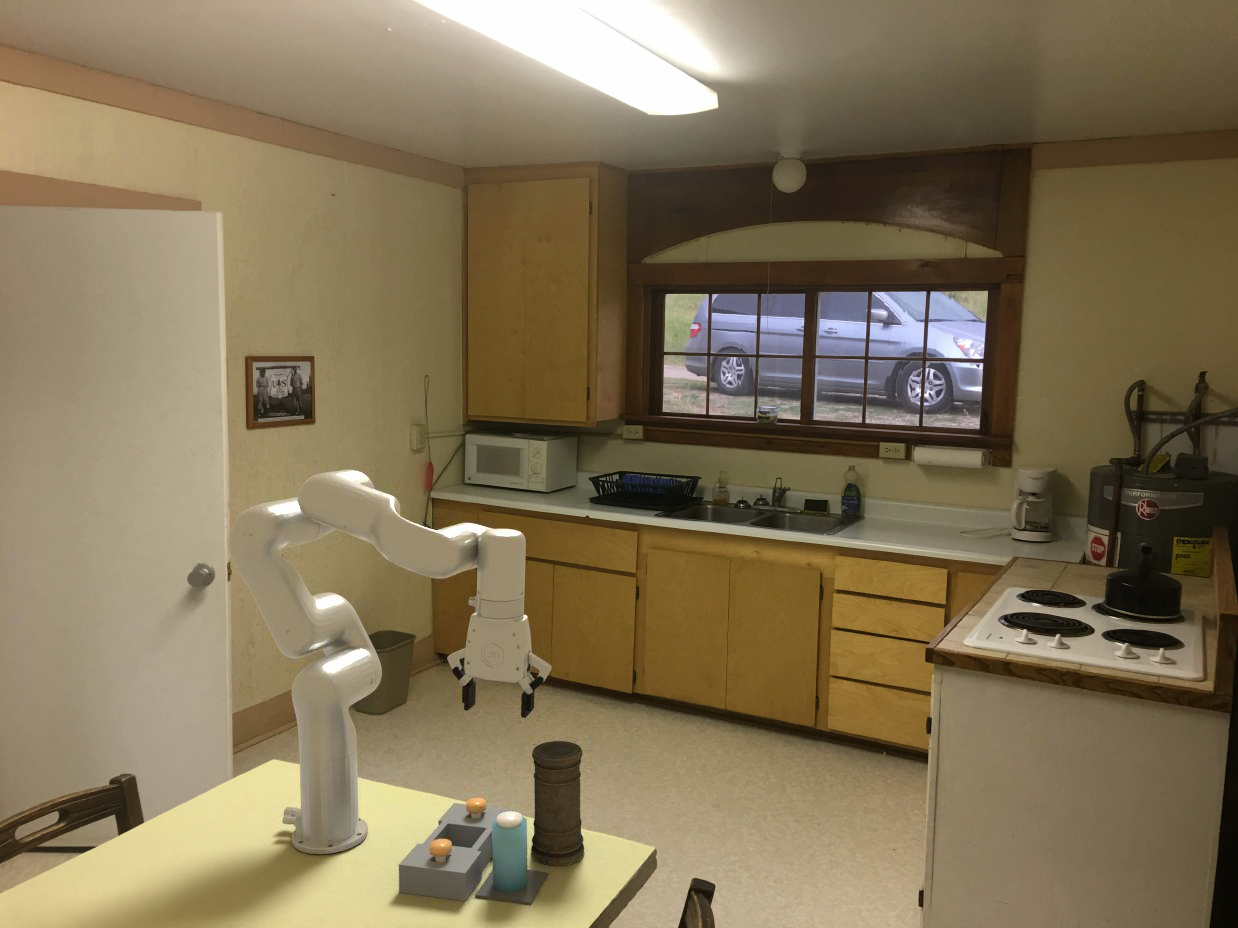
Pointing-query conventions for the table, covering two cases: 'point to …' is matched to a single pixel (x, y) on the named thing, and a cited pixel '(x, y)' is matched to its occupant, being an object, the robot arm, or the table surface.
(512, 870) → the cartridge
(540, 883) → the mat
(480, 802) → the orange mushroom peg
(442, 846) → the plunger
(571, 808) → the container
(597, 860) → the table surface
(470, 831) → the housing
